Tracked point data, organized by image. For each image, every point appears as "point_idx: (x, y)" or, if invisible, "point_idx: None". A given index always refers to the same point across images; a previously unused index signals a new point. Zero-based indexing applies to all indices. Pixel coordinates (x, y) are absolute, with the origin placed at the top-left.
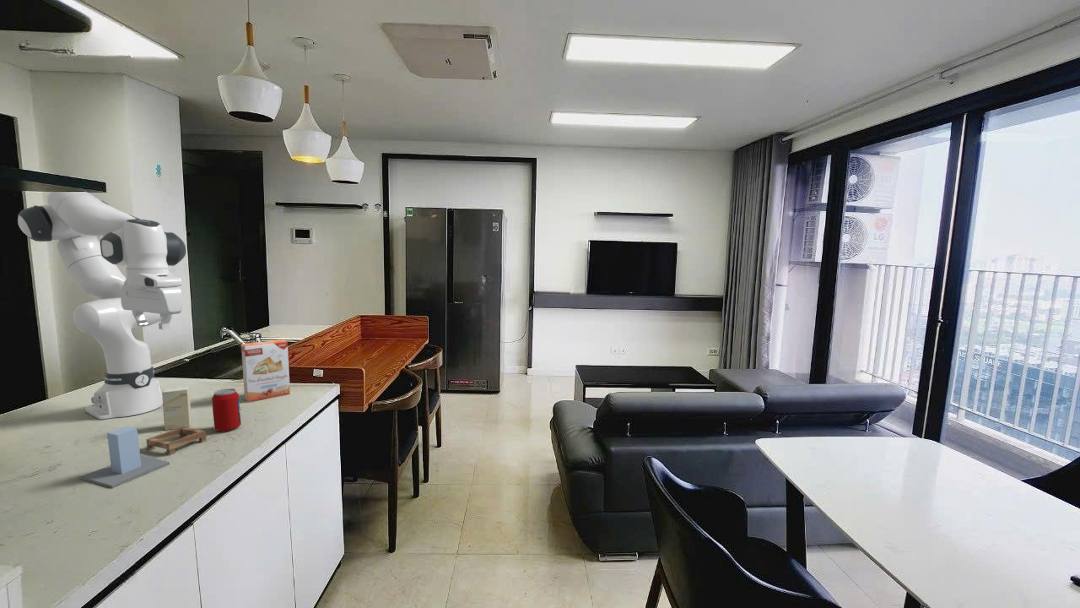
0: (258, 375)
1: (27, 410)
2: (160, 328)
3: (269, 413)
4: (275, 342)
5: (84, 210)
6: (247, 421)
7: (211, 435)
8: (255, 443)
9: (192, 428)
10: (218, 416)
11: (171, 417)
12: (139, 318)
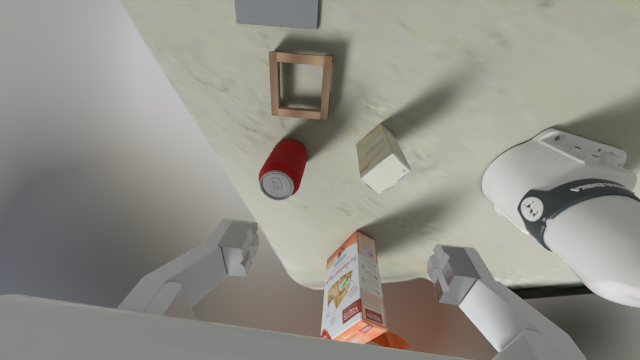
0: (347, 271)
1: None
2: (239, 221)
3: (288, 206)
4: None
5: None
6: None
7: (289, 128)
8: (201, 123)
9: (302, 117)
10: (279, 149)
11: (375, 137)
12: (484, 302)
